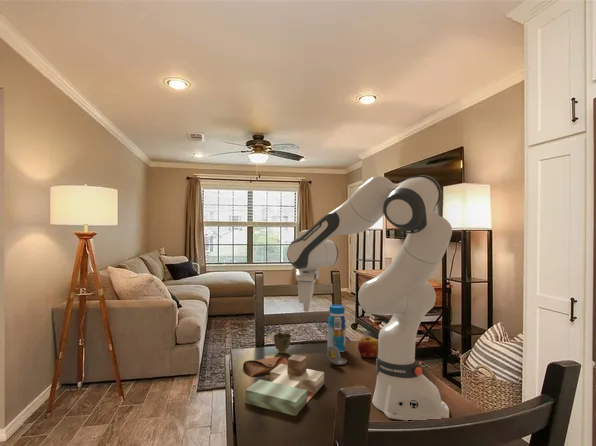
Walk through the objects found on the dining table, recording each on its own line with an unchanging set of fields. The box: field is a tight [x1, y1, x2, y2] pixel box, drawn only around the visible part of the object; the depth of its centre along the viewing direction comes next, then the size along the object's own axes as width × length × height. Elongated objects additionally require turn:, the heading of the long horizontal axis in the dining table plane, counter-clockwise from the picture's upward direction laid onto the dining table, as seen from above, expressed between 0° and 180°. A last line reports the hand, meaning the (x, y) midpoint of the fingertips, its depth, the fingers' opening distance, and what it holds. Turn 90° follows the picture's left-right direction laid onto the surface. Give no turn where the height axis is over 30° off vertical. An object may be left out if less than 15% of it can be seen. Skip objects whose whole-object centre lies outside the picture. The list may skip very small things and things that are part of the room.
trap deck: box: [244, 364, 325, 417], centre depth 114 cm, size 17×24×4 cm
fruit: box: [357, 336, 379, 359], centre depth 149 cm, size 10×9×8 cm
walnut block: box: [287, 354, 307, 376], centre depth 121 cm, size 5×5×5 cm
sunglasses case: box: [242, 355, 288, 378], centre depth 133 cm, size 18×7×7 cm
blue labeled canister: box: [326, 304, 347, 353], centre depth 157 cm, size 8×8×20 cm
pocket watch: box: [326, 340, 348, 366], centre depth 141 cm, size 8×8×10 cm
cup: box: [273, 332, 292, 355], centre depth 151 cm, size 8×7×8 cm
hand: (306, 310), depth 128 cm, fingers closed
